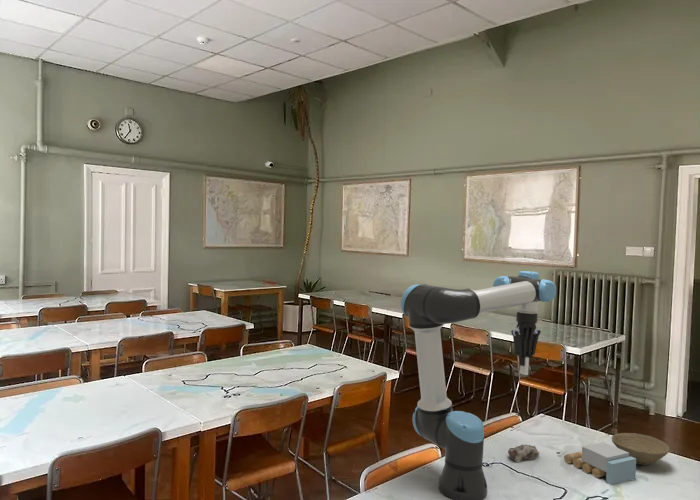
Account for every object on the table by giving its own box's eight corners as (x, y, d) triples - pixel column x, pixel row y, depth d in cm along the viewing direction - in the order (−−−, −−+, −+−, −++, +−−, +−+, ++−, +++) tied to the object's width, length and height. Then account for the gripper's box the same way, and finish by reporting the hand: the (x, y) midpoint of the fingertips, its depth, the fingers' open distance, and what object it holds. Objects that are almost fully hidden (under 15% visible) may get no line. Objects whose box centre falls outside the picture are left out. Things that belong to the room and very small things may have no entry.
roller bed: (599, 479, 174) (599, 470, 174) (563, 461, 187) (564, 453, 187) (623, 473, 179) (623, 464, 179) (586, 456, 192) (587, 448, 192)
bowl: (610, 466, 185) (611, 444, 184) (611, 448, 201) (611, 428, 201) (670, 478, 176) (671, 455, 176) (666, 459, 192) (667, 438, 192)
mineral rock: (532, 451, 196) (532, 439, 196) (546, 459, 189) (546, 447, 189) (499, 455, 192) (499, 443, 191) (512, 464, 184) (513, 451, 184)
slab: (606, 472, 172) (607, 457, 172) (581, 460, 181) (582, 446, 181) (628, 467, 177) (629, 452, 176) (603, 455, 186) (603, 442, 185)
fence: (611, 485, 170) (612, 464, 169) (606, 482, 171) (606, 461, 171) (635, 479, 175) (636, 458, 175) (629, 476, 176) (630, 456, 176)
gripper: (532, 310, 200) (529, 370, 200) (506, 310, 194) (503, 372, 195) (547, 313, 193) (544, 375, 193) (521, 313, 188) (518, 377, 188)
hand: (524, 374), depth 194 cm, fingers closed
